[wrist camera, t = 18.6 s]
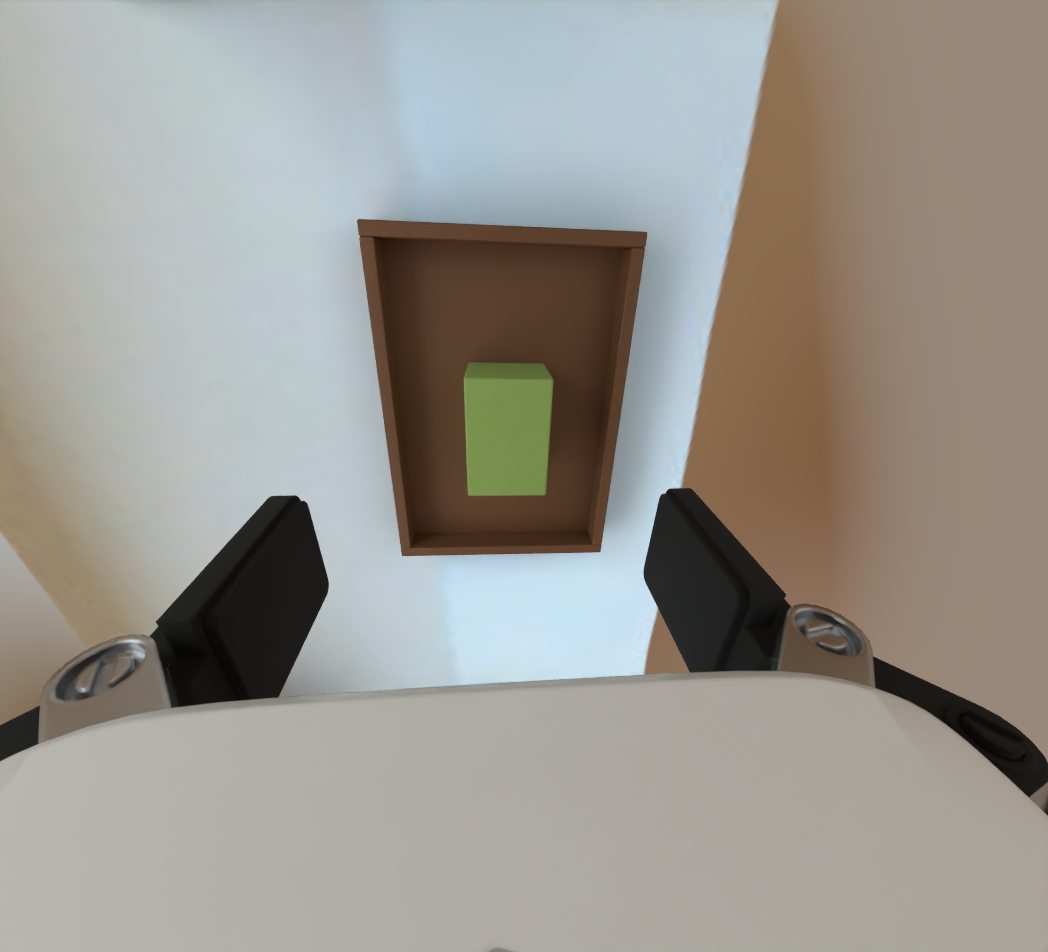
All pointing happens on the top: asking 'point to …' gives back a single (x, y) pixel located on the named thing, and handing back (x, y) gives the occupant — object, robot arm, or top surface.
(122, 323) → the top surface
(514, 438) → the green block
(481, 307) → the tray
